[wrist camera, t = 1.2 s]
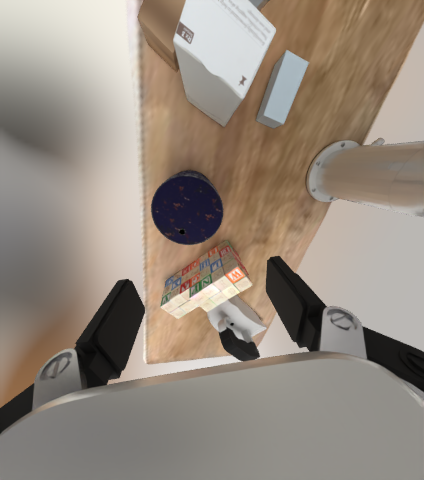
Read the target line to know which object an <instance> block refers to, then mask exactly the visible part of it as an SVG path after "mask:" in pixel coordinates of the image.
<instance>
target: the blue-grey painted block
mask: <svg viewBox="0 0 424 480" xmlns="http://www.w3.org/2000/svg"><path fill="white" fill-rule="evenodd" d="M308 64H309V63H308V62H307V61H305V60H303V59H302V58H300V57H298V56H296V55H295V54H293V53H291V52H290V51H288V50H286V52H285V53H284V54H283V55H282V56H281V58H280V59H279V60H278V61H277V63H276V64H275V65H274V68H273V71H272V74H271V77H270V80H269V83H268V86H267V89H266V92H265V95H264V97H263V100H262V103H261V106H260V109H259V112H258V115H257V118H256V121H257V122H259V123H262V124H264V125H266V126H269V127H271V128H273V129H274V128H276V127H278V126H281V125H283V124H284V122H285V120H286V117H287V115H288V112H289V110H290V107H291V105H292V103H293V100H294V98H295V95H296V93H297V90H298V88H299V85H300V83H301V81H302V78H303V76H304V73H305V71H306V68H307V66H308Z"/></svg>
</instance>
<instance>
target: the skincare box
mask: <svg viewBox="0 0 424 480" xmlns="http://www.w3.org/2000/svg"><path fill="white" fill-rule="evenodd" d="M275 32H276V28H275V27H274V26H273V25H272V24H271V23H270V22H269V21H268V20H267V19H266V18H265V17H264V16H263V15H262V14H261V13H260V12H259V10H258V9H257V8H256V7H255V6H254V5H253V4H252V3H251V2H250V1H249V0H186V1H185V5H184V8H183V11H182V14H181V17H180V20H179V23H178V26H177V29H176V32H175V35H174V38H173V43H174V47H175V51H176V55H177V59H178V63H179V67H180V72H181V76H182V80H183V85H184V89H185V93H186V97H187V100H188V101H189V102H190V103H191V104H193V105H194V106H195V107H197V108H198V109H199V110H201V111H202V112H204V113H205V114H206V115H208V116H209V117H210V118H212V119H213V120H215V121H216V122H218V123H219V124H220V125H222V126H223V127H225V126H226V124H227V123H228V121H229V120H230V118H231V116H232V115H233V113H234V112H235V110H236V109H237V107H238V106H239V104H240V103H241V101H242V100H243V99H244V97H245V95H246V93H247V91H248V89H249V87H250V85H251V83H252V81H253V79H254V77H255V75H256V73H257V71H258V69H259V67H260V65H261V63H262V60H263V58H264V56H265V54H266V52H267V50H268V48H269V46H270V43H271V41H272V39H273V37H274V35H275Z"/></svg>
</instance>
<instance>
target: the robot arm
mask: <svg viewBox="0 0 424 480" xmlns="http://www.w3.org/2000/svg"><path fill="white" fill-rule="evenodd" d="M383 143H384V139H383V138H379V139H377V140H376V141H374V142H373V143H372V144H371V145H363V146H360V145H359V144H358V143H356V142H354V141H351V140H343V141H338V142H335V143H332V144H330V145H329V146H327V147H326V148H324V149H323V150H322V151H321V152H320V153H319V154H318V155H317V156H316V158H315V159H314V160H313V162H312V164H311V166H310V168H309V171H308V174H307V180H306V185H307V190H308V192H309V194H310V195H311V196H312V197H313V198H314V199H316V200H318V201H322V202H331V201H334V200H337V199H344V200H348V201H352V202H356V203H361V204H364V205H369V206H373V207H377V208H381V209H385V210H390V211H394V212H398V213H403V214H408V215H413V216H424V141H418V142H408V143H399V144H387V145H382V144H383ZM266 292H267V294H268V296H269V298H270V300H271V302H272V304H273V305H274V307H275V309H276V311H277V313H278V315H279V316H280V318H281V320H282V322H283V324H284V326H285V328H286V330H287V331H288V333H289V335H290V337H291V339H292V340H293V341H294V342H296V343H297V344H298V346H299V348H302V347H307V348H308V350H309V351H310V352H303V353H296V354H288V355H281V356H275V357H268V358H261V359H255V360H249V361H243V362H237V363H231V364H225V365H219V366H213V367H207V368H201V369H195V370H189V371H183V372H177V373H172V374H165V375H160V376H154V377H148V378H142V379H137V380H131V381H126V382H120V383H114V384H109V385H107V383H108V380H111V379H117V378H119V377H120V375H121V372H122V370H124V369H125V367H126V364H127V361H128V359H129V356H130V353H131V350H132V347H133V344H134V342H135V339H136V336H137V333H138V330H139V327H140V324H141V322H142V319H143V316H144V313H145V307H144V305H143V303H142V301H141V299H140V297H139V295H138V293H137V290H136V288H135V286H134V284H133V282H132V281H130V280H129V279H125V280H119V281H117V283H116V284H115V286H114V287H113V289H112V290H111V292H110V293H109V295H108V296H107V298H106V299H105V300H104V302H103V304H102V305H101V306H100V308H99V309H98V311H97V312H96V314H95V315H94V317H93V319H92V320H91V321H90V323H89V324H88V326H87V328H86V329H85V330H84V331H83V333H82V335H81V336H80V337H79V339H78V340H77V342H76V347H75V348H74V349H66V350H63V351H61V352H59V353H57V354H56V355H54V356H53V357H52V358H50V359H49V360H48V361H47V362H46V363H45V364H44V365H43V366H42V368H41V369H40V370H39V372H38V374H37V375H36V378H35V383H34V384H32V385H31V386H30V387H28V388H27V389H25V390H24V391H23V392H22V393H20V394H19V395H18V396H16V397H15V398H13V399H12V400H11V401H10V402H8V403H7V404H5V405H4V406H3V407H1V408H0V480H424V352H423V351H421V350H419V349H416V348H414V347H412V346H409V345H407V344H404V343H402V342H400V341H397V340H394V339H392V338H390V337H387V336H385V335H382V334H380V333H378V332H375V331H373V330H370V329H368V328H365V327H363V326H362V324H361V322H360V321H359V319H358V318H357V317H356V316H355V315H353V314H352V313H351V312H349V311H348V310H345V309H343V308H340V307H336V306H330V307H327V306H326V305H325V304H324V303H323V302H322V301H321V300H320V299H319V297H318V296H317V295H316V294H315V293H314V292H313V291H312V290H311V289H310V287H309V286H308V285H307V284H306V283H305V282H304V281H303V280H302V279H301V278H300V276H299V275H298V274H296V273H294V272H293V271H292V270H291V269H290V267H289V266H288V265H287V264H286V263H285V262H284V261H283V260H282V258H281V257H280V256H275V257H270V259H269V260H267V275H266Z"/></svg>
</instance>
